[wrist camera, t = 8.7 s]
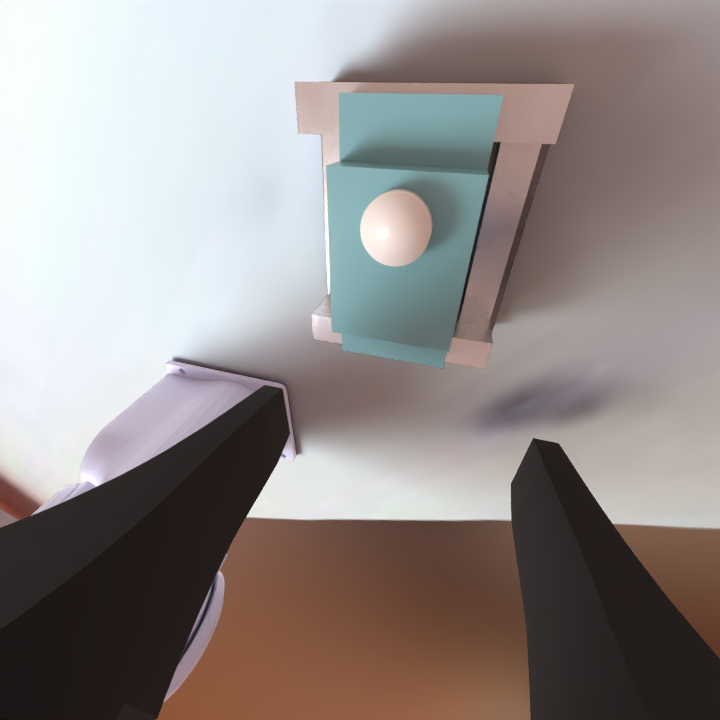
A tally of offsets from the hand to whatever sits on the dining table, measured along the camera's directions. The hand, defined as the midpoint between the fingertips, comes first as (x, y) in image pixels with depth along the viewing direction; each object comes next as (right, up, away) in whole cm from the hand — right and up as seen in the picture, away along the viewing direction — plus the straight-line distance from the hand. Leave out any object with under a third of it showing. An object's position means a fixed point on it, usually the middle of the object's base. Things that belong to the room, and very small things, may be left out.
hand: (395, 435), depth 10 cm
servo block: (+1, +8, +4) cm, 9 cm away
